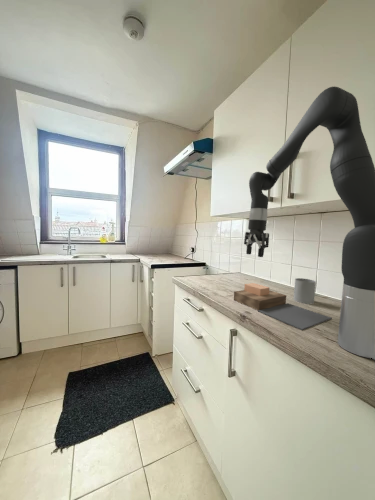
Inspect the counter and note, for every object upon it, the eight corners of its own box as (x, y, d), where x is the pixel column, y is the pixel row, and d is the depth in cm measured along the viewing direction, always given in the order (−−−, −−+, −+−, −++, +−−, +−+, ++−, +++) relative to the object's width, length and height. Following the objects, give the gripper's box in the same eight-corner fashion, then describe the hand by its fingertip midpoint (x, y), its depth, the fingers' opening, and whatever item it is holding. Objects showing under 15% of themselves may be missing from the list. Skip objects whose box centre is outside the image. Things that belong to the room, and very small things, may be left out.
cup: (318, 304, 91) (320, 282, 90) (302, 304, 89) (303, 282, 88) (304, 298, 99) (306, 278, 98) (289, 298, 98) (291, 278, 97)
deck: (285, 304, 88) (286, 295, 88) (258, 310, 79) (259, 300, 79) (259, 295, 100) (260, 287, 100) (233, 300, 91) (234, 291, 91)
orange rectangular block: (268, 294, 89) (269, 287, 89) (260, 295, 86) (260, 289, 86) (252, 289, 97) (253, 283, 96) (244, 290, 93) (244, 284, 93)
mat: (331, 318, 74) (331, 317, 74) (301, 330, 64) (301, 329, 64) (287, 304, 89) (287, 303, 89) (257, 311, 78) (257, 310, 78)
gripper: (276, 219, 82) (272, 258, 84) (255, 220, 96) (251, 253, 98) (261, 218, 80) (257, 257, 82) (241, 219, 94) (238, 253, 95)
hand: (254, 255), depth 90 cm, fingers open, 8 cm apart
